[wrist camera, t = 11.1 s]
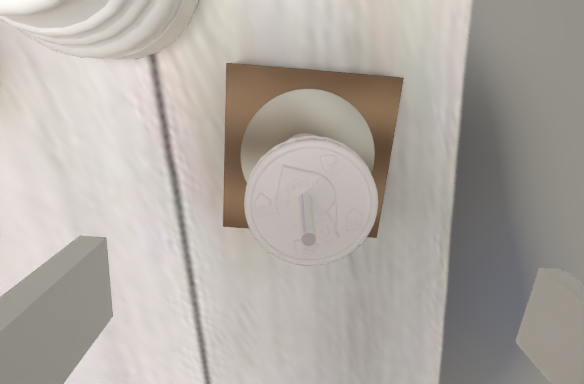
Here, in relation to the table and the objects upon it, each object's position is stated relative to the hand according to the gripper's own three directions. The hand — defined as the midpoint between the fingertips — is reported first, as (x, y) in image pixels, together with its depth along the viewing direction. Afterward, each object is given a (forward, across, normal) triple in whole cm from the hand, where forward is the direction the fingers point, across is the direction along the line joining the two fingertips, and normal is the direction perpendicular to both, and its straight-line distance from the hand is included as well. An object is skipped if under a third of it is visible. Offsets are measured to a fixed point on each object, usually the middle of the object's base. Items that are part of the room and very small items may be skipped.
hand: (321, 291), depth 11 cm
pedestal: (+20, 0, -1) cm, 20 cm away
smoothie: (+16, 0, -1) cm, 16 cm away
